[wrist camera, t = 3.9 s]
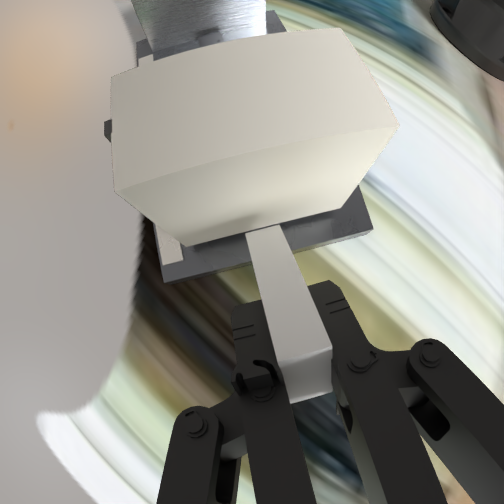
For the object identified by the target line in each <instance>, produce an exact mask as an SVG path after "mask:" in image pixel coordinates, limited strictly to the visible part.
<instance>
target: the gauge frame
mask: <svg viewBox="0 0 504 504" xmlns="http://www.w3.org/2000/svg"><path fill="white" fill-rule="evenodd" d="M131 2H132V4H133V6H134V9H135V11H136V13H137V16H138V18H139V20H140V23H141V25H142V28H143V30H144V32H145V35H146V37H147V39H145V40H142V41H139V42H137V67H139V66H141V65H144V64H147V63H150V62H153V61H156V60H159V59H162V58H165V57H168V56H172V55H175V54H178V53H182V52H185V51H189V50H193V49H197V48H201V47H205V46H209V45H213V44H217V43H222V42H226V41H231V40H236V39H241V38H247V37H253V36H259V35H265V34H273V33H280V32H287V31H286V29H285V27H284V26H283V24H282V22H281V21H280V19H279V17H278V16H277V14H276V13H275V11H274V10H271V11H266V10H265V0H131ZM276 225H280V227H281V229H282V231H283V234H284V236H285V238H286V240H287V243H288V245H289V247H290V249H291V251H292V254H294V253H298V252H302V251H306V250H310V249H313V248H317V247H321V246H325V245H329V244H333V243H336V242H340V241H344V240H348V239H351V238H355V237H359V236H363V235H366V234H368V233H369V232H370V231H372V230H373V226H372V223H371V220H370V217H369V214H368V211H367V208H366V205H365V202H364V199H363V196H362V193H361V191H360V188H359V185H357V187H356V188H355V190H354V191H353V192H352V194H351V195H350V196H349V198H348V199H347V200H346V202H345V203H344V204H343V206H342V207H341V208H339V209H335V210H331V211H327V212H322V213H318V214H314V215H310V216H306V217H302V218H298V219H294V220H290V221H286V222H282V223H278V224H274V225H270V226H266V227H262V228H258V229H254V230H250V231H246V232H242V233H238V234H234V235H230V236H226V237H223V238H219V239H215V240H211V241H207V242H203V243H200V244H196V245H192V246H188V247H185V246H184V245H183V244H181V243H180V242H179V241H177V240H176V239H175V238H173V237H172V236H171V235H169V234H168V233H167V232H165V231H164V230H163V229H162V228H160V227H159V226H158V225H156V224H155V223H154V222H153V226H154V232H155V238H156V244H157V249H158V255H159V260H160V265H161V270H162V275H163V280H164V283H167V284H171V285H172V284H176V283H180V282H184V281H188V280H192V279H196V278H200V277H204V276H208V275H212V274H216V273H220V272H224V271H228V270H232V269H236V268H240V267H244V266H248V265H251V264H253V263H252V259H251V255H250V251H249V247H248V243H247V239H246V235H245V233H249V232H253V231H257V230H260V229H264V228H268V227H272V226H276Z"/></svg>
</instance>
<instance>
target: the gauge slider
mask: <svg viewBox="0 0 504 504" xmlns="http://www.w3.org/2000/svg"><path fill="white" fill-rule="evenodd" d="M399 126H400V125H399V123H398V121H397V119H396V117H395V115H394V113H393V111H392V109H391V108H390V106H389V104H388V102H387V100H386V98H385V97H384V95H383V93H382V91H381V90H380V88H379V86H378V84H377V83H376V81H375V79H374V78H373V76H372V74H371V73H370V71H369V69H368V68H367V66H366V65H365V63H364V62H363V60H362V58H361V57H360V55H359V54H358V52H357V51H356V49H355V48H354V46H353V45H352V43H351V42H350V41H349V39H348V38H347V36H346V35H345V33H344V32H343V31H342V29H341V28H326V29H310V30H299V31H289V32H280V33H273V34H265V35H259V36H253V37H247V38H241V39H236V40H231V41H226V42H222V43H217V44H213V45H209V46H205V47H201V48H197V49H193V50H189V51H185V52H182V53H178V54H175V55H172V56H168V57H165V58H162V59H159V60H156V61H153V62H150V63H147V64H144V65H141V66H139V67H136V68H133V69H131V70H128V71H126V72H123V73H120V74H118V75H116V76H113V77H111V120H108V121H106V122H104V135H105V137H106V138H107V139H108V140H109V141H110V142H111V146H112V166H113V181H114V192H115V193H116V194H118V195H119V196H120V197H122V198H123V199H124V200H125V201H127V202H128V203H129V204H130V205H132V206H133V207H135V208H136V209H137V210H138V211H139V212H141V213H142V214H143V215H145V216H146V217H147V218H148V219H150V220H151V221H152V222H154V223H155V224H156V225H158V226H159V227H160V228H162V229H163V230H164V231H165V232H167V233H168V234H169V235H171V236H172V237H173V238H175V239H176V240H177V241H179V242H180V243H181V244H183V245H184V246H185V247H188V246H192V245H196V244H200V243H203V242H207V241H211V240H215V239H219V238H223V237H226V236H230V235H234V234H238V233H242V232H246V231H250V230H254V229H258V228H262V227H266V226H270V225H274V224H278V223H282V222H286V221H290V220H294V219H298V218H302V217H306V216H310V215H314V214H318V213H322V212H327V211H331V210H335V209H339V208H341V207H342V206H343V204H344V203H345V202H346V200H347V199H348V198H349V196H350V195H351V194H352V192H353V191H354V190H355V188H356V187H357V185H358V184H359V183H360V181H361V180H362V179H363V177H364V176H365V174H366V173H367V172H368V170H369V169H370V168H371V166H372V165H373V163H374V162H375V161H376V159H377V158H378V156H379V155H380V154H381V152H382V151H383V149H384V148H385V147H386V145H387V144H388V142H389V141H390V139H391V138H392V137H393V135H394V134H395V132H396V131H397V129H398V128H399Z"/></svg>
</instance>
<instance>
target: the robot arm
mask: <svg viewBox="0 0 504 504" xmlns="http://www.w3.org/2000/svg"><path fill="white" fill-rule="evenodd" d="M430 14H431V16H432V19H433V21H434V22H435V24H436V25H437V27H438V28H439V29H440V30H441V32H442V33H443V34H444V35H445V36H446V37H447V38H448V39H449V40H450V41H451V42H452V43H453V44H454V45H455V46H456V47H457V48H458V49H459V50H460V51H461V52H462V53H463V54H465V55H466V56H467V57H468V58H469V59H471V60H472V61H473V62H474V63H476V64H477V65H478V66H480V67H481V68H482V69H484V70H485V71H487V72H488V73H490V74H491V75H493V76H495V77H496V78H498V79H500V80H502V81H504V0H434V1H433V3H432V5H431V8H430ZM245 235H246V239H247V243H248V247H249V251H250V255H251V259H252V263H253V267H254V271H255V275H256V279H257V283H258V287H259V291H260V295H261V300H258V301H254V302H250V303H246V304H242V305H238V306H235V308H234V310H233V313H232V316H231V323H232V330H233V338H234V345H235V352H236V359H237V366H236V367H235V369H234V371H233V372H232V375H231V383H232V385H233V387H234V389H235V391H234V393H233V394H232V395H231V396H230V397H229V398H227V399H226V400H224V401H223V402H221V403H219V404H217V405H215V406H213V407H211V408H207V407H202V406H194V407H190V408H188V409H186V410H184V411H182V412H181V413H180V414H179V415H178V416H177V418H176V421H175V423H174V426H173V430H172V435H171V439H170V443H169V448H168V452H167V457H166V461H165V466H164V470H163V475H162V480H161V484H160V489H159V494H158V499H157V503H156V504H236V499H237V491H238V482H239V474H240V466H241V457H242V456H243V455H245V454H247V453H248V458H249V464H250V470H251V476H252V481H253V487H254V492H255V498H256V503H257V504H317V503H316V499H315V495H314V491H313V488H312V484H311V480H310V476H309V472H308V469H307V465H306V461H305V457H304V453H303V450H302V446H301V442H300V438H299V434H298V431H297V427H296V423H295V419H294V416H293V412H292V408H291V403H295V402H299V401H302V400H306V399H309V398H313V397H316V396H320V395H323V394H326V393H329V392H333V389H334V391H335V394H336V397H337V403H336V412H337V415H339V414H340V416H341V419H342V422H343V425H344V428H345V431H346V433H347V436H348V439H349V442H350V445H351V448H352V451H353V454H354V457H355V460H356V463H357V466H358V469H359V472H360V476H361V479H362V482H363V485H364V488H365V491H366V494H367V497H368V500H369V504H448V503H447V501H446V498H445V495H444V493H443V490H442V487H441V485H440V482H439V480H438V477H437V475H436V472H435V470H434V467H433V465H432V462H431V460H430V458H429V455H428V453H427V451H426V448H425V446H424V444H423V441H422V439H421V437H420V435H421V436H422V437H423V439H424V440H425V441H426V442H427V443H428V445H429V446H430V447H431V448H432V450H433V451H434V452H435V453H436V455H437V456H438V457H439V458H440V460H441V461H442V462H443V463H444V465H445V466H446V467H447V468H448V470H449V471H450V472H451V473H452V475H453V476H454V477H455V478H456V480H457V481H458V482H459V483H460V485H461V486H462V487H463V488H464V490H465V491H466V492H467V494H468V495H469V496H470V497H471V499H472V500H473V501H474V502H475V504H504V405H503V403H502V402H501V401H500V400H499V399H498V398H497V397H496V396H495V395H494V394H493V393H492V392H491V391H490V390H489V389H488V388H487V386H486V385H485V384H484V383H483V382H482V381H481V380H480V379H479V378H478V377H477V376H476V375H475V374H474V373H473V372H472V371H471V370H470V369H469V368H468V367H467V366H466V365H465V364H464V363H463V362H462V361H461V360H460V359H459V358H458V357H457V356H456V355H455V354H454V353H453V352H452V351H451V350H450V349H449V348H448V347H447V346H446V345H445V344H443V343H442V342H440V341H439V340H435V339H431V338H430V339H422V340H420V341H418V342H416V343H415V344H414V346H413V347H412V348H411V350H406V351H393V352H392V351H383V350H380V349H378V348H376V347H374V346H373V345H372V344H370V343H369V341H368V340H367V338H366V336H365V334H364V333H363V331H362V329H361V327H360V325H359V323H358V321H357V319H356V317H355V315H354V313H353V312H352V310H351V309H350V306H349V304H348V302H347V300H346V299H345V297H344V295H343V293H342V291H341V289H340V287H338V286H337V285H335V284H334V283H333V282H331V281H330V280H327V281H324V282H320V283H317V284H313V285H310V286H307V285H306V283H305V281H304V278H303V276H302V274H301V272H300V269H299V267H298V265H297V263H296V260H295V258H294V256H293V254H292V251H291V249H290V247H289V245H288V243H287V240H286V238H285V236H284V234H283V231H282V229H281V227H280V225H276V226H272V227H268V228H264V229H260V230H257V231H253V232H249V233H245Z"/></svg>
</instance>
